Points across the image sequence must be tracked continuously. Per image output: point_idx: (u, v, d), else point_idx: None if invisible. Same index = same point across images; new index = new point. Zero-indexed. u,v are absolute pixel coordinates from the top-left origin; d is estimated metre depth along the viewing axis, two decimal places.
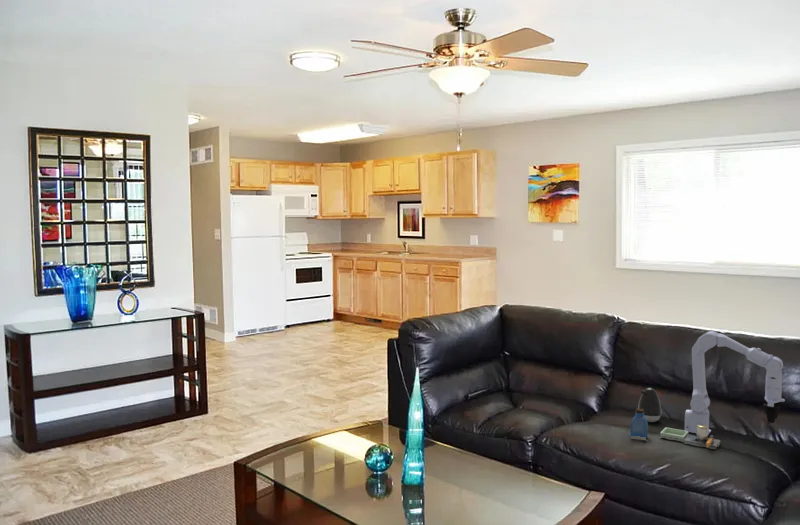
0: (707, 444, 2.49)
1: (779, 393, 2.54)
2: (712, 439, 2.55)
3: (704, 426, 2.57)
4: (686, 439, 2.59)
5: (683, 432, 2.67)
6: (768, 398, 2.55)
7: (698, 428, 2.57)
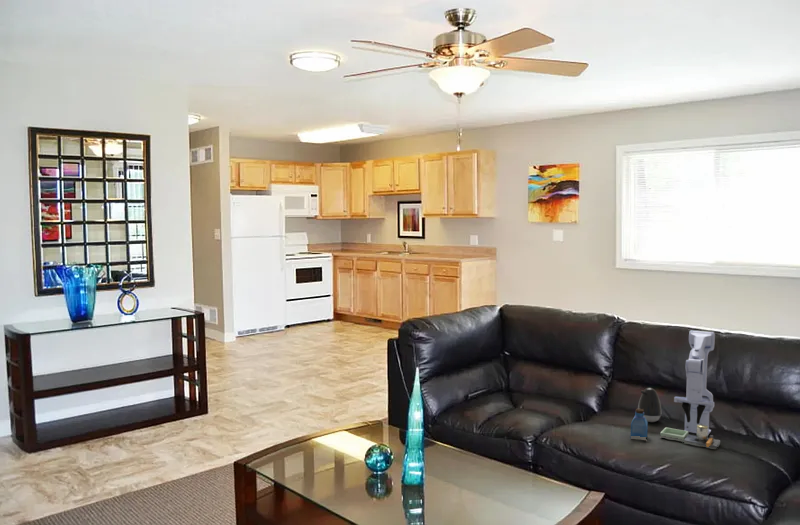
0: (707, 444, 2.49)
1: (688, 394, 2.51)
2: (712, 439, 2.55)
3: (704, 426, 2.57)
4: (686, 439, 2.59)
5: (683, 432, 2.67)
6: None
7: (698, 428, 2.57)
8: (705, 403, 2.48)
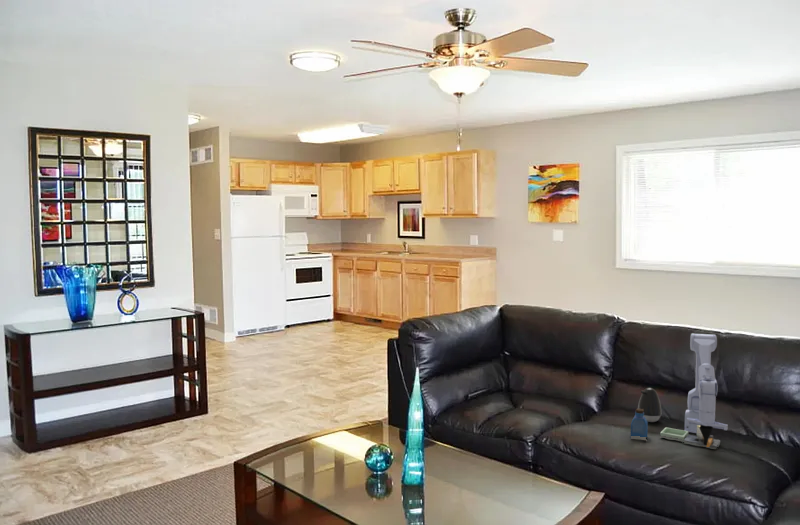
0: (707, 444, 2.49)
1: (701, 415, 2.48)
2: (712, 439, 2.55)
3: None
4: (686, 439, 2.59)
5: (683, 432, 2.67)
6: None
7: (698, 428, 2.57)
8: (718, 425, 2.46)
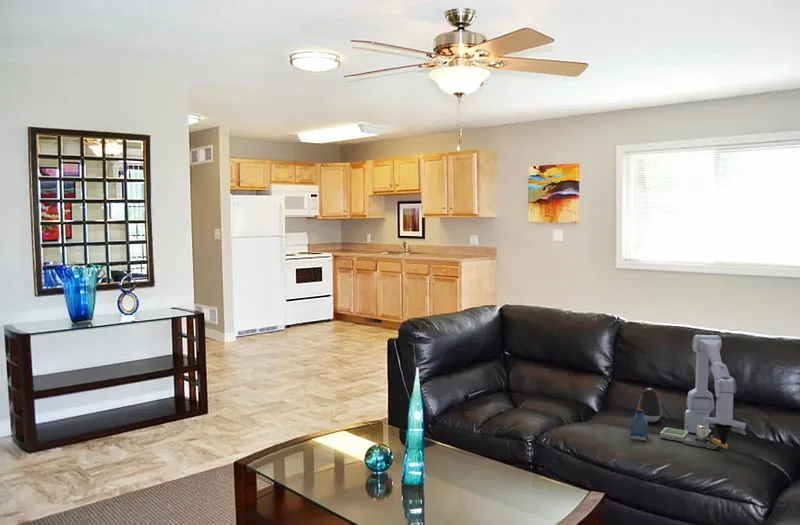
0: (726, 445, 2.47)
1: (718, 414, 2.45)
2: None
3: (704, 426, 2.57)
4: (686, 439, 2.59)
5: (683, 432, 2.67)
6: None
7: (698, 428, 2.57)
8: (736, 424, 2.42)
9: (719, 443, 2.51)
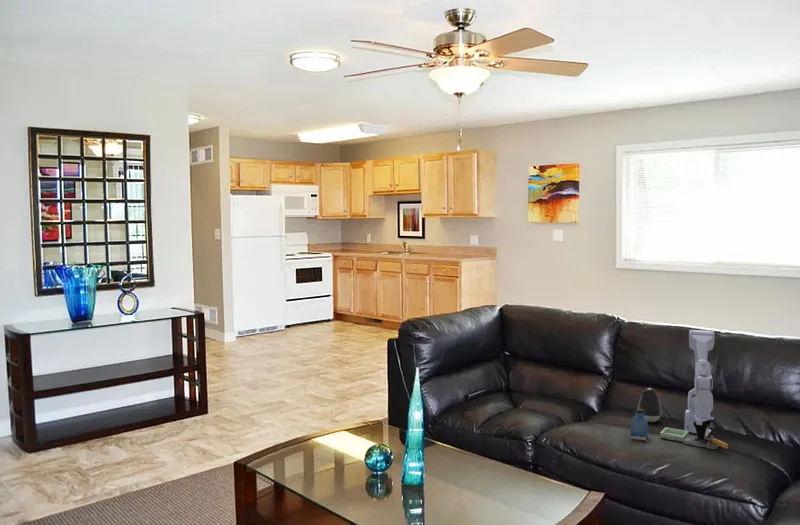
0: (726, 445, 2.47)
1: (708, 411, 2.55)
2: None
3: None
4: (686, 439, 2.59)
5: (683, 432, 2.67)
6: (697, 416, 2.56)
7: None
8: None
9: (719, 443, 2.51)
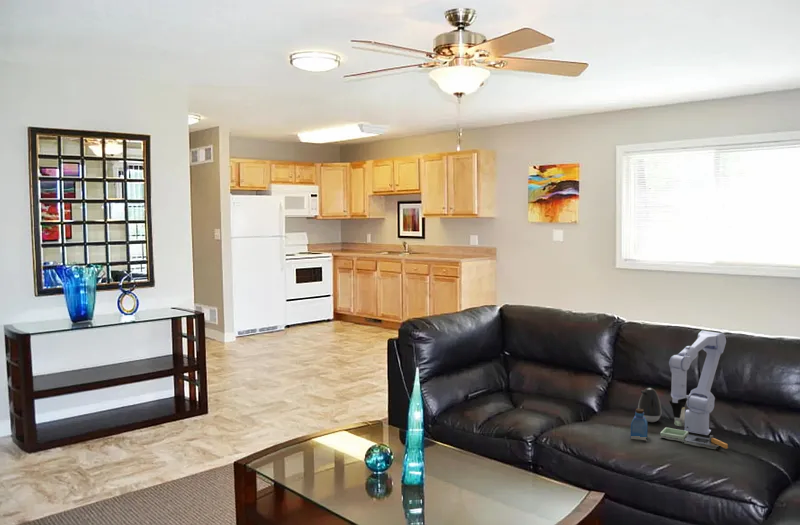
0: (726, 445, 2.47)
1: (684, 390, 2.61)
2: None
3: None
4: (686, 439, 2.59)
5: (683, 432, 2.67)
6: (673, 395, 2.63)
7: None
8: None
9: (719, 443, 2.51)
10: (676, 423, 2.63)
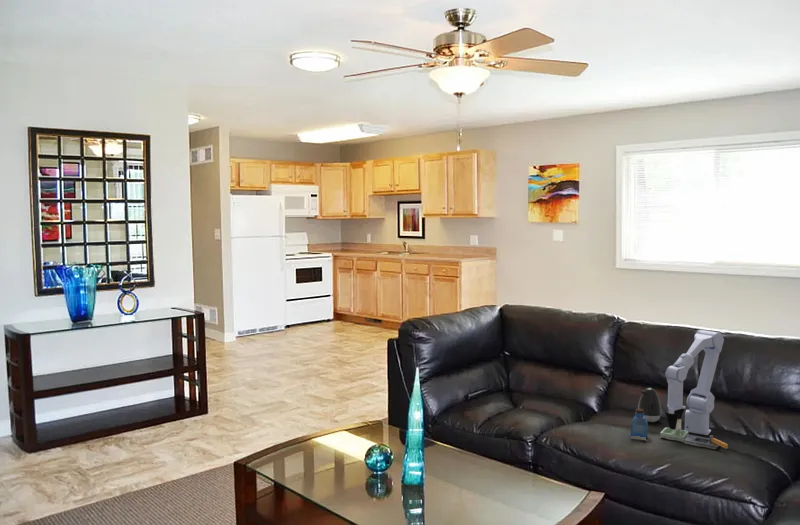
0: (726, 445, 2.47)
1: (680, 400, 2.63)
2: None
3: (678, 419, 2.65)
4: (686, 439, 2.59)
5: (683, 432, 2.67)
6: (670, 405, 2.64)
7: None
8: None
9: (719, 443, 2.51)
10: None
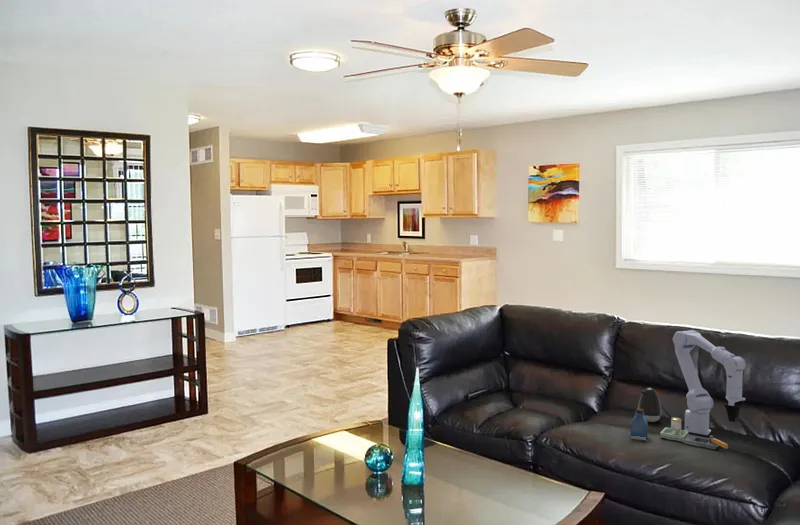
0: (726, 445, 2.47)
1: (740, 392, 2.56)
2: None
3: (678, 419, 2.65)
4: (686, 439, 2.59)
5: (683, 432, 2.67)
6: (729, 397, 2.57)
7: (672, 421, 2.65)
8: None
9: (719, 443, 2.51)
10: None
